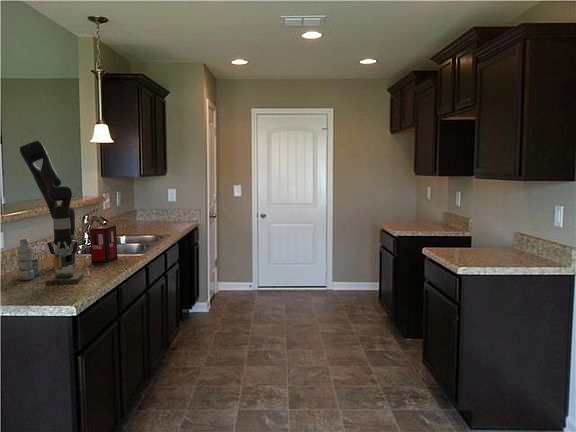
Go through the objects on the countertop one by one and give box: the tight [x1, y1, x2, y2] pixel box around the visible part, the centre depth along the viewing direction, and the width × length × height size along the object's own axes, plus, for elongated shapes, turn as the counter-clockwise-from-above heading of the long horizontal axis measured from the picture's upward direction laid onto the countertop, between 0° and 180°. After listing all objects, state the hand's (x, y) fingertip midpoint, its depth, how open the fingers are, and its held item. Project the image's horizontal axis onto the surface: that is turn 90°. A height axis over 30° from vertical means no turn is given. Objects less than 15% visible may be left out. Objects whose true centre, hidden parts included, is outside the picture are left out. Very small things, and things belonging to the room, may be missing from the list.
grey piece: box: [52, 254, 75, 278], centre depth 239 cm, size 10×8×10 cm
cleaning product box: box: [89, 225, 118, 265], centre depth 290 cm, size 16×9×20 cm, turn 179°
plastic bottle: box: [17, 238, 34, 281], centre depth 242 cm, size 6×7×20 cm
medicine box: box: [17, 258, 40, 278], centre depth 250 cm, size 8×4×9 cm, turn 149°
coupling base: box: [45, 272, 84, 286], centre depth 240 cm, size 14×14×2 cm
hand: (64, 262), depth 239 cm, fingers closed on grey piece, 5 cm apart
